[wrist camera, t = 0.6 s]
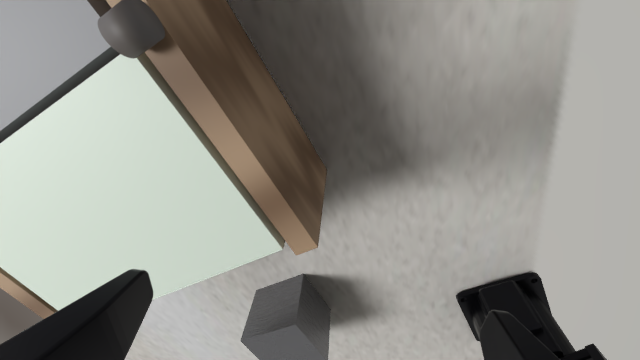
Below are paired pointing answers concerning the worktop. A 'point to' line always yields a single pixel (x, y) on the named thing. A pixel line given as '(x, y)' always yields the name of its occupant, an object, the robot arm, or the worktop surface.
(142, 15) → the frame
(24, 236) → the trapdoor
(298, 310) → the block
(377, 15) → the worktop surface
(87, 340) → the robot arm
